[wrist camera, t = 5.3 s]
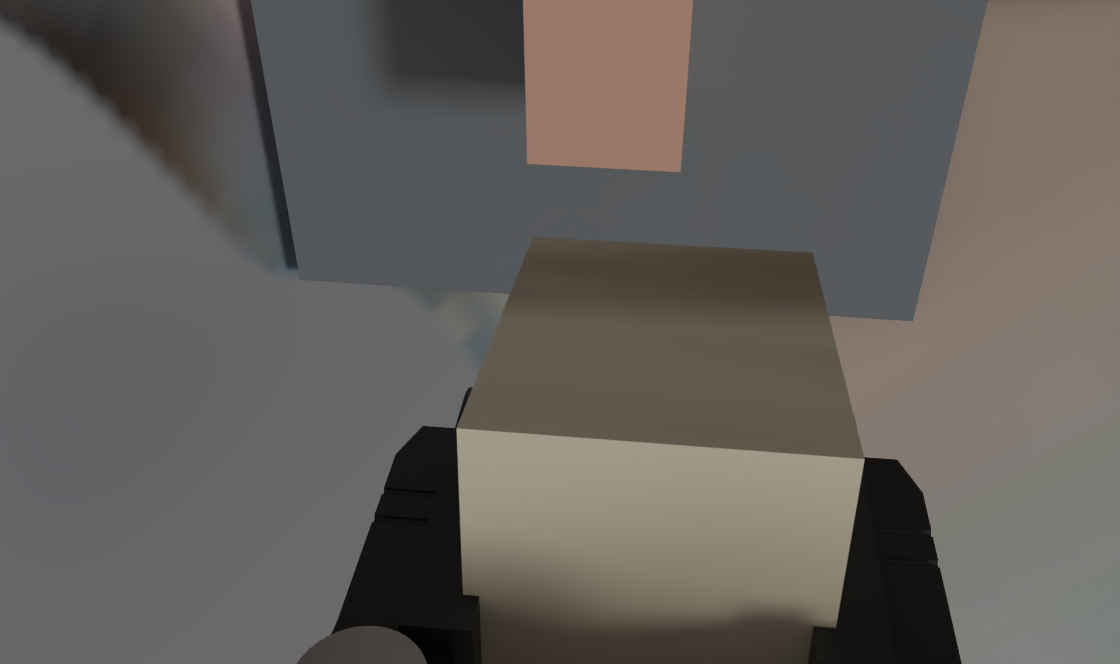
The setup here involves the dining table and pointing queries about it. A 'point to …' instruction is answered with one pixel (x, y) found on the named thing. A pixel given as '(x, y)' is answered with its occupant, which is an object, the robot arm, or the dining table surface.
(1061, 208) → the dining table surface
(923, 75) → the charcoal mat
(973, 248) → the dining table surface
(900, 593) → the robot arm
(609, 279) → the maple brick
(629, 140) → the terracotta brick
